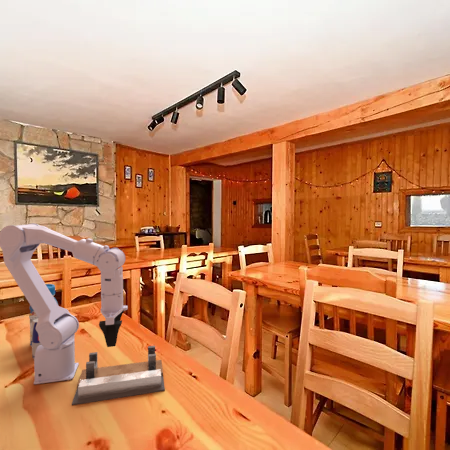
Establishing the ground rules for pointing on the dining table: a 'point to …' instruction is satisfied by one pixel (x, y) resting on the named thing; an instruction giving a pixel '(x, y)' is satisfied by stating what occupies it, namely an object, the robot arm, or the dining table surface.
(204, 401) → the dining table surface
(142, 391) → the dark grey flat panel
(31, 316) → the beverage bottle
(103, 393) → the rail
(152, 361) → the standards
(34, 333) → the energy drink
